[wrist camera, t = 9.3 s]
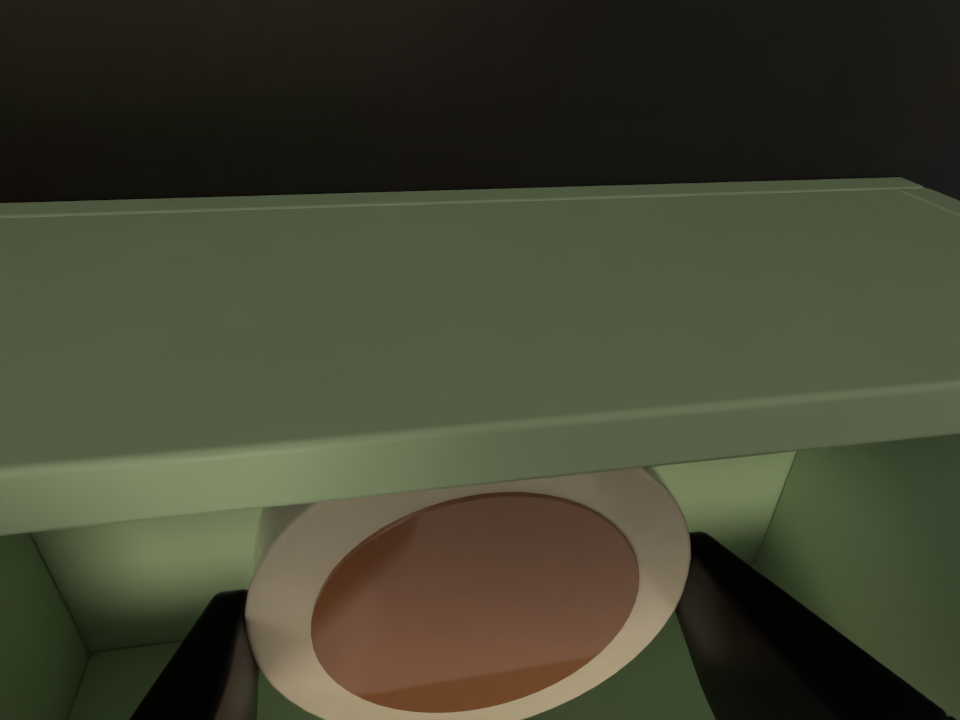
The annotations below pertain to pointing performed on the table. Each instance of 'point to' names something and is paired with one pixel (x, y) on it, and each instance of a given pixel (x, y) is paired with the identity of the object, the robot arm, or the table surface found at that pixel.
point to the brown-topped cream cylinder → (464, 595)
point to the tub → (474, 401)
